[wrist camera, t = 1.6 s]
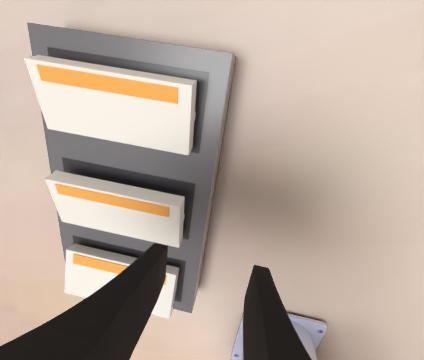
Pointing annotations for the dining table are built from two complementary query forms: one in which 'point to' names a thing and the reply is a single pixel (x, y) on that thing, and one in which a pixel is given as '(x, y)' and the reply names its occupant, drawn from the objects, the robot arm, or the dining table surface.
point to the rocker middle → (118, 208)
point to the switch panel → (141, 156)
